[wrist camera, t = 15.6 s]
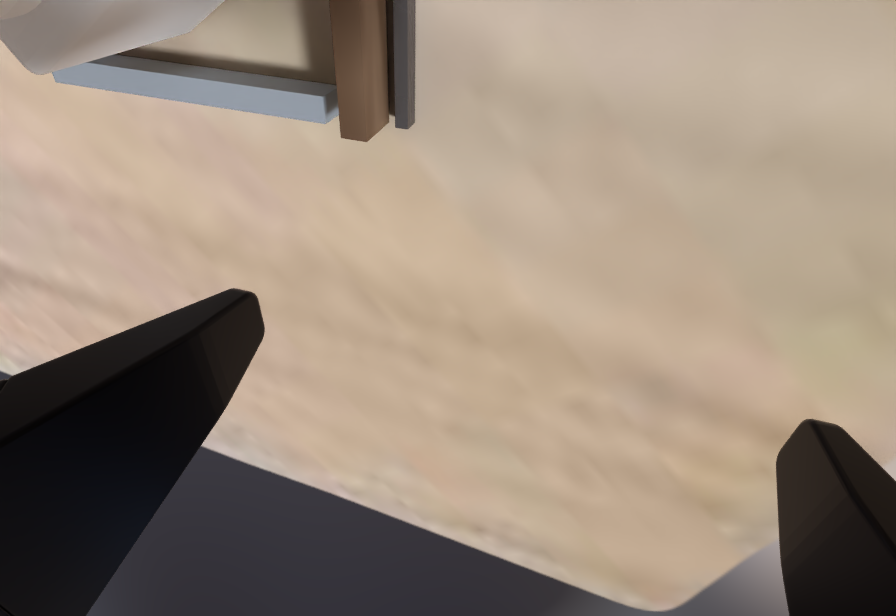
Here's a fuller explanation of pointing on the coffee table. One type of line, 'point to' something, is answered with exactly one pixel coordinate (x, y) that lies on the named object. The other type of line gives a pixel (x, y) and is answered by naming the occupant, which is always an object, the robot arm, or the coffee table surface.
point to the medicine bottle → (91, 28)
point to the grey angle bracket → (207, 87)
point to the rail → (404, 62)
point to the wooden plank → (360, 66)
